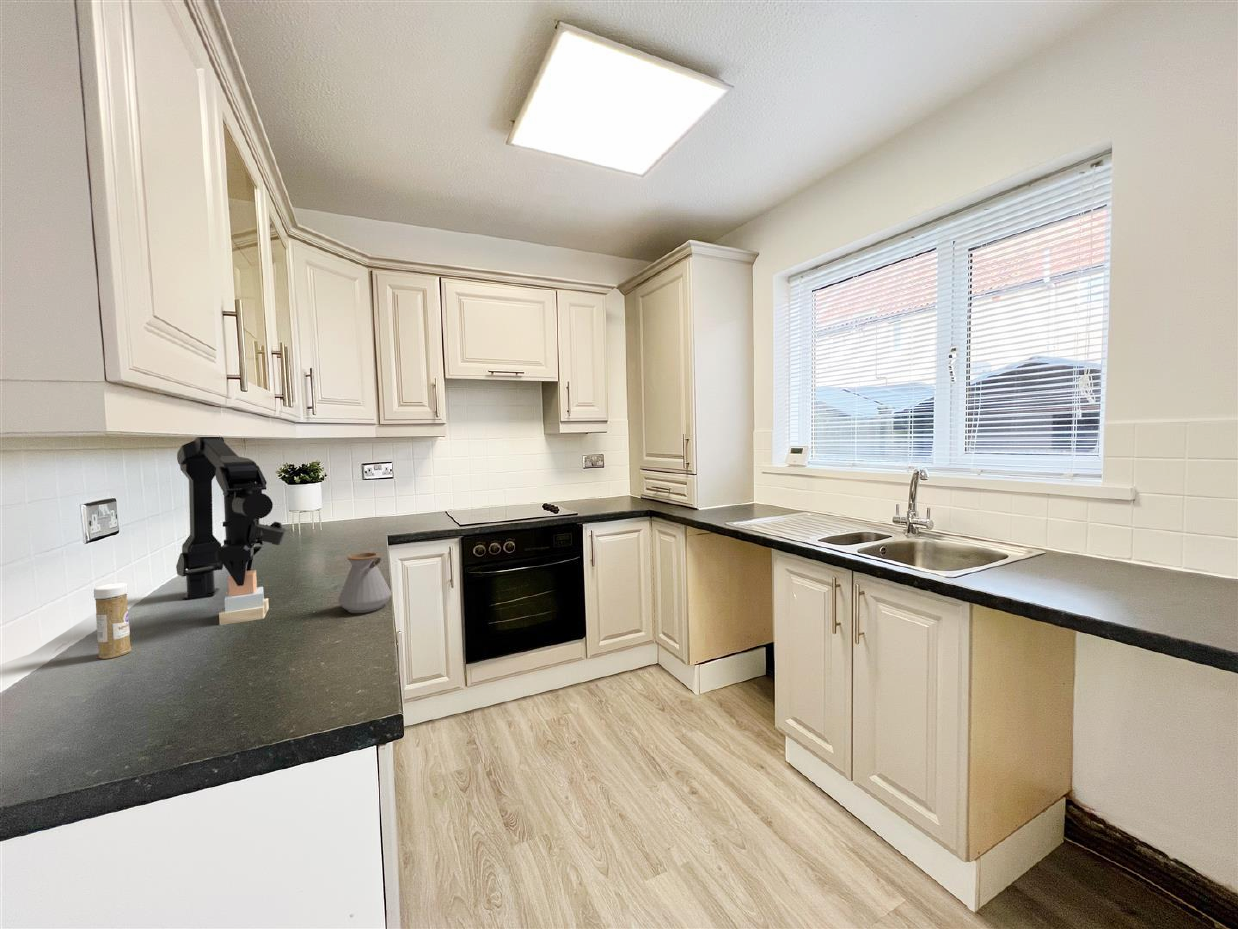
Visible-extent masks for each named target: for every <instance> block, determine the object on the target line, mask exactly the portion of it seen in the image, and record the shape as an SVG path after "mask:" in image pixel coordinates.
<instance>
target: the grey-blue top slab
mask: <svg viewBox="0 0 1238 929" xmlns="http://www.w3.org/2000/svg"><path fill="white" fill-rule="evenodd" d="M264 599H265V596H264V586H257V589H256V591H255V592H254V593H253V594H245V595H237V596H229V591H226V593H225V596H224V607H225V612H232V611H238V610H244V609H250V608H256V607H262V606H264Z"/></svg>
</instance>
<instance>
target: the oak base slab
mask: <svg viewBox="0 0 1238 929" xmlns="http://www.w3.org/2000/svg"><path fill="white" fill-rule="evenodd" d="M269 608H270V606H269V598H268V597H266V598H264V606H262V607H256V608H250V609H244V610H238V611H232V612H225V606H224V607H223V608H222V609H221V611H220V612H219V613H218V616H219V619H218V620H219V626H223V625H228V624H229V625H230V624H237V623H243V622H250V621H256V620H263V619H265V617H266V614H267V613H268V611H269Z"/></svg>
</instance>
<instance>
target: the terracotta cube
mask: <svg viewBox="0 0 1238 929" xmlns="http://www.w3.org/2000/svg"><path fill="white" fill-rule="evenodd" d="M227 579H228V592H229V596H237V595H245V594H253V593H254V592H255V591H256V589H257V587H258V582H257V569H254V570H252V569H251V571H246V575H245V581H244V585H243V586H237V584H236V583H235V581H234V580H233V578H232V576H231V575H230V574H229V576H228V578H227Z"/></svg>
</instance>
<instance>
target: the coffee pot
mask: <svg viewBox="0 0 1238 929" xmlns="http://www.w3.org/2000/svg"><path fill="white" fill-rule="evenodd" d="M347 560H348V562H350V564H351V568H350V570H349V573H348V575H347V578H346V579H345V582H344V585H343V587H342V589H341V592H340V593H339V596H338V604H339V605H340V607H341V608H343V609H344V610H347V612H348V613H351V614H365V613H370V612H374V611H378V610H380V609H381V608H383V607H384V605H385V604H386V603H387V602H388V601H389V600H390V598H391V596H392V591H391V589H390V587H389V586H388V584H387V581H386V579H385V578H384V576H383V575H382V572H381V571H380V570H381V569H380V568H381V567H383V566H384V565H385V564H386V561H385V560H384V559H383V558H381V557H379V553H377V552H363V553H356V554H352V555H349V556H348V557H347ZM381 560H382V561H383V564H382V565H381V566H379V565H378V564H380V563H381Z"/></svg>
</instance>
